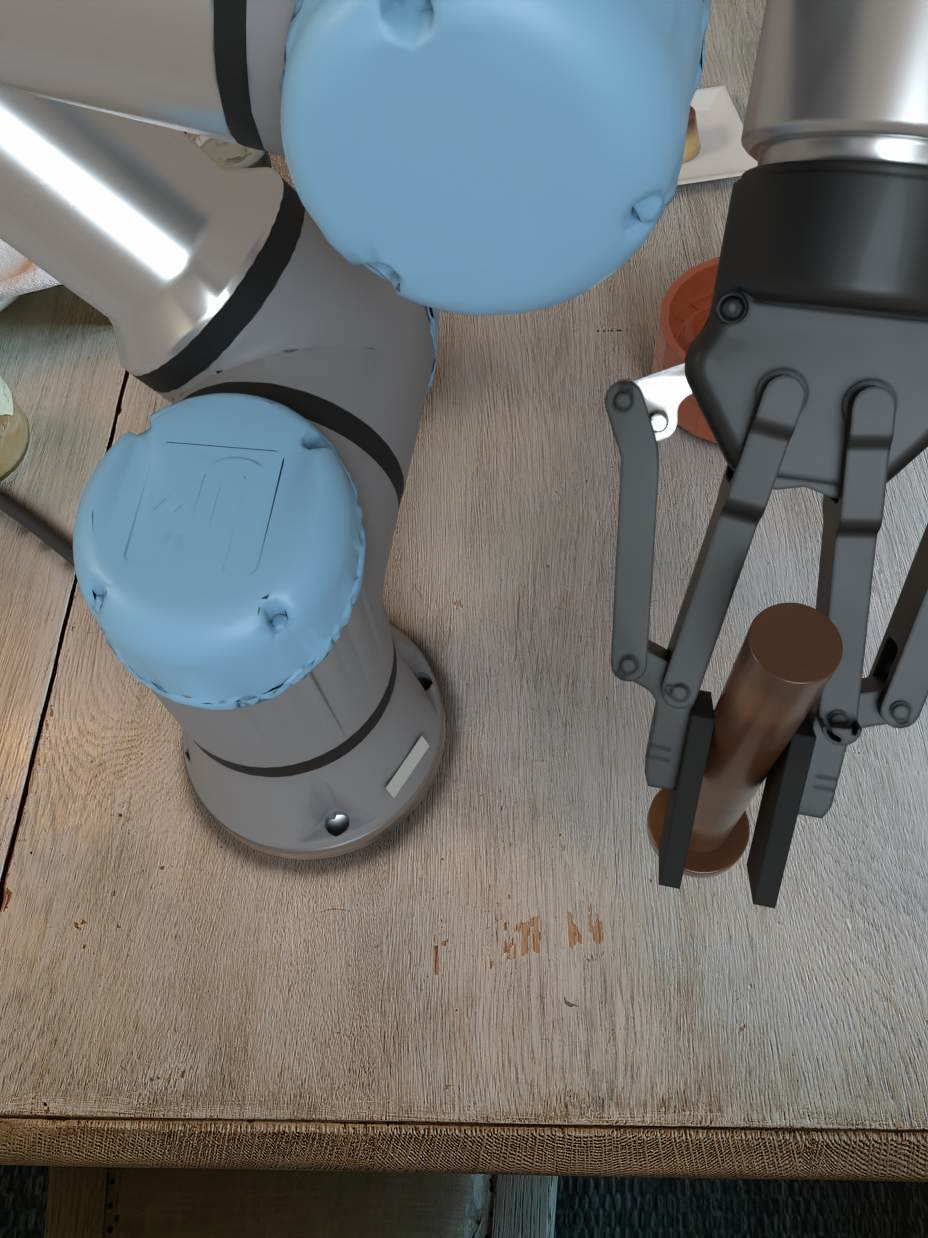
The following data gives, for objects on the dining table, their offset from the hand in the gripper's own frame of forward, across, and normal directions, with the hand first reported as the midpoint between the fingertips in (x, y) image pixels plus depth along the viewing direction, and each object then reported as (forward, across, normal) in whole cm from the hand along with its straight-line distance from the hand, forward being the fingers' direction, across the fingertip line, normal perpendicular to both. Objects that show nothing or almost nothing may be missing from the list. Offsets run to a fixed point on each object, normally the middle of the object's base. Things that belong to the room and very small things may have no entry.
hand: (714, 875), depth 35 cm
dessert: (-34, +7, -59) cm, 68 cm away
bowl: (-16, -1, -41) cm, 44 cm away
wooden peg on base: (+2, 0, -8) cm, 8 cm away
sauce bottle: (-11, +30, -36) cm, 49 cm away
